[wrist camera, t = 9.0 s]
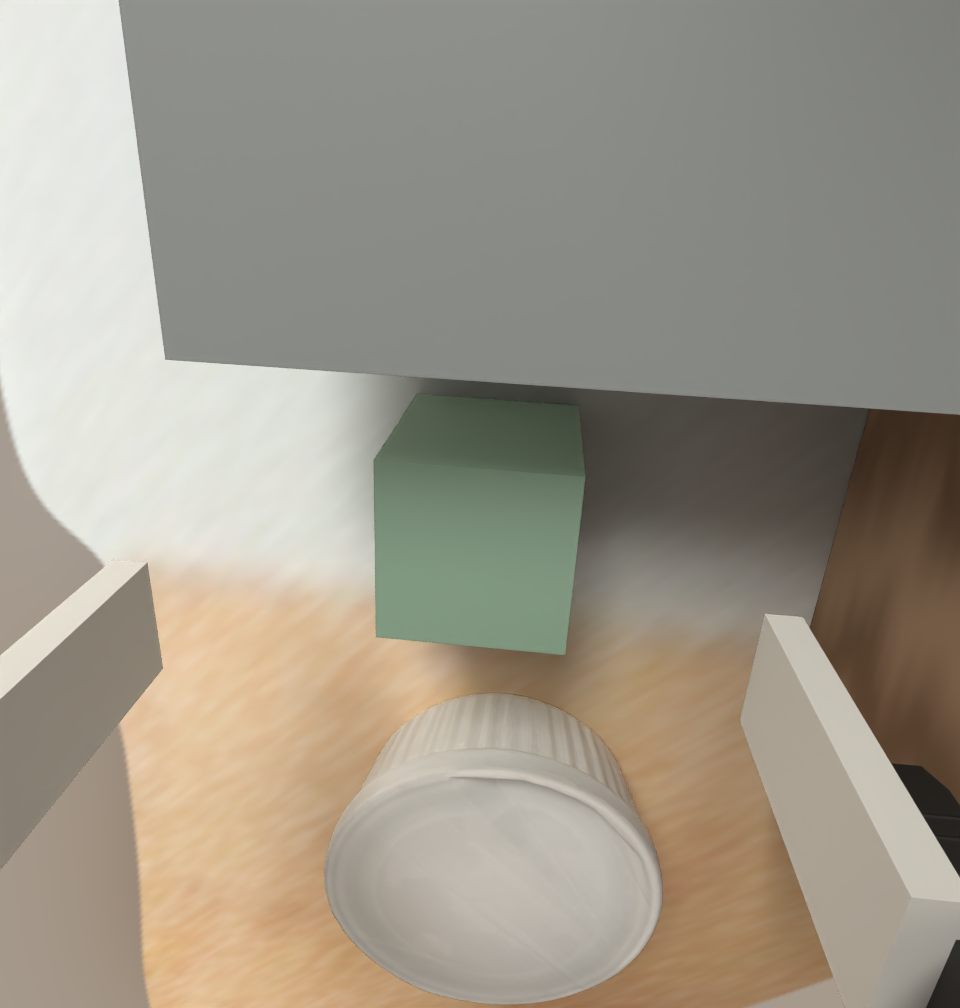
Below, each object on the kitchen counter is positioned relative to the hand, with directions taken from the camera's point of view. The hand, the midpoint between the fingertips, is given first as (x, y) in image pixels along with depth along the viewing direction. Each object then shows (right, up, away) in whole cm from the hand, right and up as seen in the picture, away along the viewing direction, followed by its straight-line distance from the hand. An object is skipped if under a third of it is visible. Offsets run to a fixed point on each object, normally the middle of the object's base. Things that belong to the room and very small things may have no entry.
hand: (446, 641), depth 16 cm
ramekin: (+2, -8, +13) cm, 16 cm away
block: (+1, +4, +8) cm, 9 cm away
